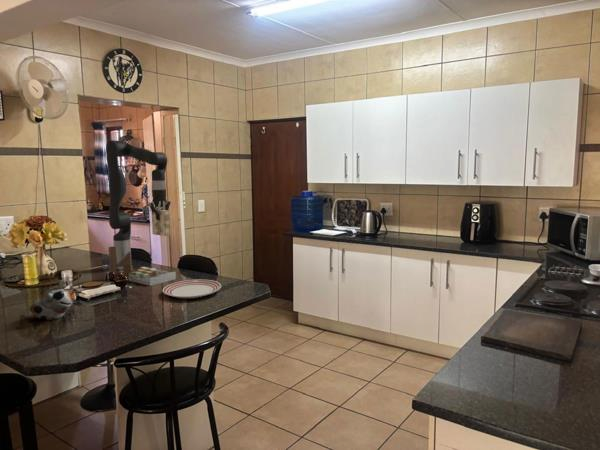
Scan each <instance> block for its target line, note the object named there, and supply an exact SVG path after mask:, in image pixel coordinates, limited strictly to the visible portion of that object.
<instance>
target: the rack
mask: <svg viewBox="0 0 600 450" xmlns="http://www.w3.org/2000/svg"><path fill="white" fill-rule="evenodd" d="M151 268H152V269H156V267H151ZM158 270H159V271H160V275H158V276H154V277H150V278H148V279H147V278H142V277H138V276H135V273H136V272H137V270H136V271H133V272H132V271H131V273H128V276H129V279H128V281H129V282H133V283H136V284H137V283H138V284H142V285H146V286H154V285H158V284H162V283H166V282H170V281H174V280H176V279H177V273H176V272H177V271H166V270H160V269H158Z"/></svg>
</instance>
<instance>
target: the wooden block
mask: <svg viewBox="0 0 600 450" xmlns="http://www.w3.org/2000/svg"><path fill="white" fill-rule="evenodd" d="M108 259H109V260H108V261H109V273H110V272H114V273H122V274H124V275H125V276H126V277H127V280H129V276H128V273H132V267H131V265H132V255H131V256H130V252H128V253H127V254H126V255H125V256H124V258H123V259H122V260H121V261H120V262H119V263H118V264H117V260H116V247H114V246H109V247H108ZM122 266H123V269H122V271H118V269H117V267H122Z"/></svg>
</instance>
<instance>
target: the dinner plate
mask: <svg viewBox="0 0 600 450" xmlns="http://www.w3.org/2000/svg"><path fill="white" fill-rule="evenodd" d="M221 288H222V284H221V283H220V282H219V281H216V280H213V279H186V280H181V281H176V282H173V283H170V284H167V285H166V286H164V288H163V289H162V293H163V294H164V295H167V296H171V297H173V298H177V299H189V300H190V299H199V297H200V298H203V296H204V297H207V296H210V295H212V294H214V293H216V292H218V291H219V290H220V289H221Z"/></svg>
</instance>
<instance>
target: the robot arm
mask: <svg viewBox="0 0 600 450" xmlns="http://www.w3.org/2000/svg"><path fill="white" fill-rule="evenodd" d="M105 151H106V158H107V161H106V162H107V167H108V190H109V191H108V193H109V213H108V223H109V226H110V228H111V229H113V230H118V232H117V233H115V234H114V235H113V237H112V238H113V239H112V240H113V247H116V260H117V264H118V263H119V262H120V261H121V260H122V259H123V258H124V256H125V255H126V254H127V253H128V252H130V256H131V257H132V253H131V252H132V250H131V249H132V248H131V234H132V221H131V216H130V214H129V213H128V212H120V206H121V203H122V201H123V199H124V197H125V195H126V193H127V179H126V177H125V175H124V173H123V172H122V170H121V168H120V165H119V160H118V158H123V157H131V158H133V159H135V160H137V161H140V162H144V163H147V164H148V165H152V166H156V168H155V169H153V170H152V171H151V198H152V200H151V202H148V203H147V204H148V206H149V209H150V211H152V212H154V213H155V214H156V220H160V214H159V210H168V211H169V208H170V205H171V201H168V200H167V183H166V174H165V173H166V170H167V167H168V166H167V165H168V157H167V156H168V155H166V153H165V152H157V151H155V152H154V151H152V150H150V149H146V148H142V147H137V146H134V145H131V144H129V143H128V142H125V141H123V140H115V139H114V140H113V139H112V140H108V141H107V143H106V146H105ZM152 212H151V213H152ZM131 268H132V264H131ZM117 270H123V266H122V267H117Z"/></svg>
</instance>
